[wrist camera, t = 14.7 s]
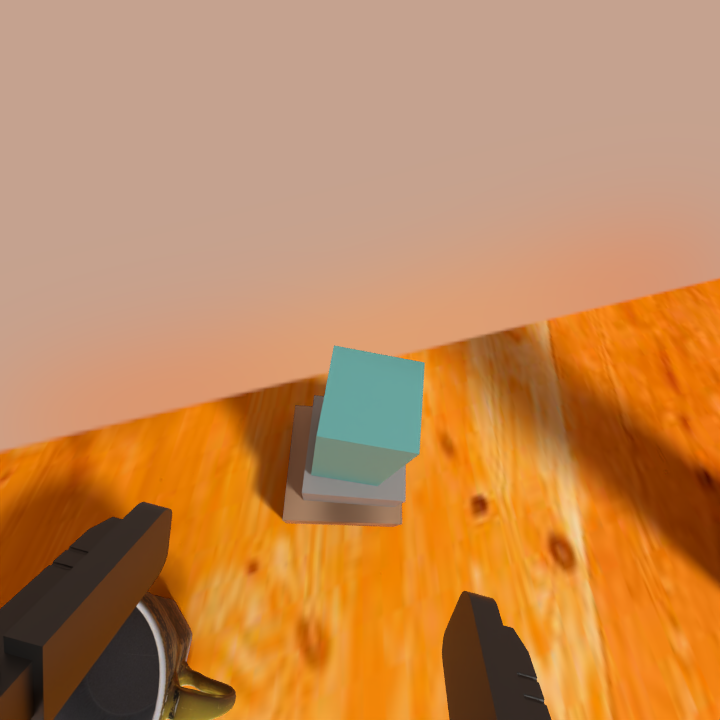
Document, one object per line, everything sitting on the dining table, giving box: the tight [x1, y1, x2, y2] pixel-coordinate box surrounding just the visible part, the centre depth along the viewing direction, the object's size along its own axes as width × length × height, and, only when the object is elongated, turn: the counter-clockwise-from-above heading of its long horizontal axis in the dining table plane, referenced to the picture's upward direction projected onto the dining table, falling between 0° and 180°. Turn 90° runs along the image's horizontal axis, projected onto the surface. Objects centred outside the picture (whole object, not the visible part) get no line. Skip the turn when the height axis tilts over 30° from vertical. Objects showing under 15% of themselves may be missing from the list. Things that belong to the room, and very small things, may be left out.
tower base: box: [283, 405, 402, 527], centre depth 31 cm, size 9×9×4 cm
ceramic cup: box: [53, 592, 236, 720], centre depth 21 cm, size 13×10×10 cm
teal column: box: [311, 346, 424, 486], centre depth 21 cm, size 5×5×10 cm
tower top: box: [302, 395, 405, 507], centre depth 28 cm, size 7×7×4 cm
